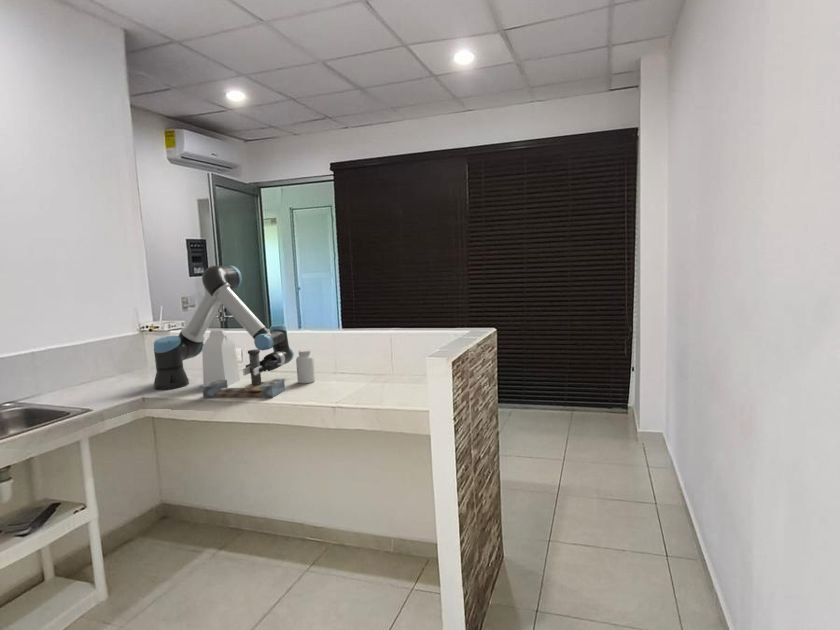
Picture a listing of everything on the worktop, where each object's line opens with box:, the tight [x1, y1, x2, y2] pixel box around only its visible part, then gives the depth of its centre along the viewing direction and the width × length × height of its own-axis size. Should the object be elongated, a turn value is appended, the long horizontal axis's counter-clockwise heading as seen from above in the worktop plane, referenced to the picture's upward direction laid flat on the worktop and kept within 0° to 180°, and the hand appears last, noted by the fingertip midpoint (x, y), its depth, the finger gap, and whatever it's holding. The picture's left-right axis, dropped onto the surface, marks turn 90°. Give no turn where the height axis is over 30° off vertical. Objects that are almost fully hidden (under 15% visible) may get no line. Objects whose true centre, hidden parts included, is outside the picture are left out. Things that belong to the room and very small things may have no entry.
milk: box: [201, 329, 241, 387], centre depth 242 cm, size 12×12×26 cm
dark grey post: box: [244, 348, 269, 391], centre depth 219 cm, size 7×8×17 cm
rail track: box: [202, 378, 286, 399], centre depth 221 cm, size 32×12×6 cm, turn 81°
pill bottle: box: [295, 349, 316, 384], centre depth 238 cm, size 8×8×15 cm
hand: (249, 372), depth 214 cm, fingers closed on dark grey post, 4 cm apart
